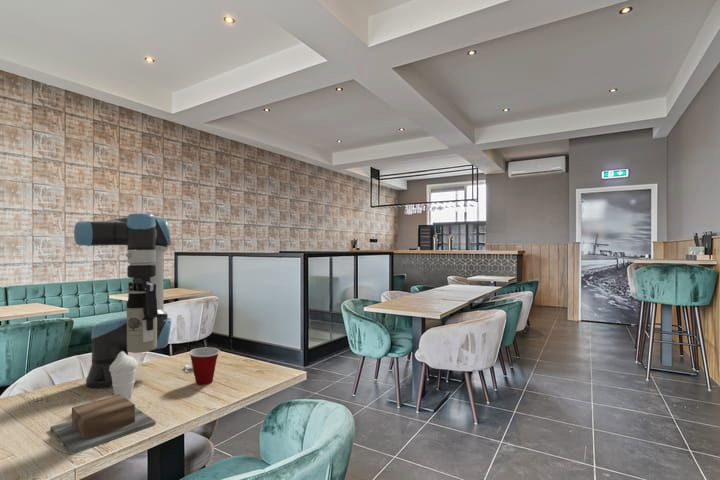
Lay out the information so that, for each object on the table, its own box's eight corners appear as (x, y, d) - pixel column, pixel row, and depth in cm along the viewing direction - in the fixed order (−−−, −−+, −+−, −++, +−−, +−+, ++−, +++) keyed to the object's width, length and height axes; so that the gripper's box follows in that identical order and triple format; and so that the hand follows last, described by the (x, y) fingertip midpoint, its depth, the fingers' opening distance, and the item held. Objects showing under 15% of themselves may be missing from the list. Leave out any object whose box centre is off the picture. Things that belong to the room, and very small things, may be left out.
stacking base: (50, 430, 106) (50, 408, 106) (129, 406, 121) (129, 387, 122) (70, 454, 93) (69, 430, 93) (155, 424, 109) (155, 403, 109)
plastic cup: (209, 388, 136) (209, 355, 136) (182, 386, 138) (182, 354, 138) (225, 378, 146) (225, 347, 147) (200, 376, 148) (200, 346, 149)
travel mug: (143, 345, 120) (143, 288, 120) (163, 347, 117) (162, 289, 118) (120, 352, 113) (120, 291, 113) (140, 354, 110) (140, 292, 110)
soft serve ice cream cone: (143, 395, 130) (143, 349, 130) (121, 405, 122) (121, 356, 122) (125, 393, 133) (125, 347, 133) (102, 402, 125) (102, 353, 125)
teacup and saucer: (181, 370, 158) (181, 360, 158) (200, 365, 164) (200, 356, 164) (188, 375, 152) (188, 365, 152) (208, 370, 157) (208, 360, 157)
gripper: (114, 264, 119) (115, 336, 118) (143, 265, 106) (143, 346, 106) (140, 263, 125) (140, 332, 124) (170, 264, 112) (170, 341, 112)
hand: (142, 338), depth 115 cm, fingers closed on travel mug, 8 cm apart
